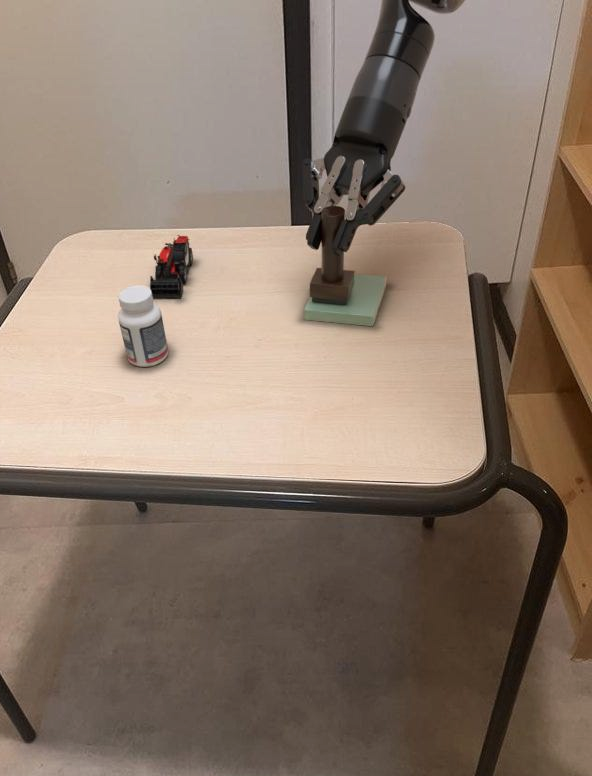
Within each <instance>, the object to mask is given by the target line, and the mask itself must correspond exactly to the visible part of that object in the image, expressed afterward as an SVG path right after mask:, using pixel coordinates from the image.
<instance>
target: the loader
mask: <svg viewBox="0 0 592 776" xmlns="http://www.w3.org/2000/svg"><path fill="white" fill-rule="evenodd" d="M176 236H177V238H176V239H175V237H173V241H172V243H171V242H165V244H164V245H165V246H164V247H163V248H162V249H161V250H160V252H159V254H158V255H157V254H154V255H153V260H154V261H155V263H156V265H155V270H154V271H155V272H154V277H153V275H150V277H149V281H150V282H149V288H150V290H151V292H152V296H153V298H182V295H183V292H184V284H183V283H186V282H187V280H188V269H189V266H190V265H191V266H192V265H193V262H194V254H193V253H194V251H193V248H192V247H190V242H189V241H190V238H189V236H187V235H180V234H177V235H176ZM172 277H177V279H175V278H172ZM154 278H155V279H154Z"/></svg>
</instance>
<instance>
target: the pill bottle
mask: <svg viewBox="0 0 592 776" xmlns="http://www.w3.org/2000/svg"><path fill="white" fill-rule="evenodd" d="M118 302H119V307H120V308H121V309H120V310H119V311H118V315H117V319H118V324H119V329H120V333H121V337H122V342H123V346H124V351H125V354H126V357H127V360H128V362H129V363H130V364H132V365H134V366H136V367H142V368H143V367H144V368H145V367H146V368H147V367H153V366H156V365H159V364H160V363H162V362H163V361H165V359H166V358H167V357H168V354H169V346H168V341H167V336H166V331H165V325H164V319H163V315H162V310H161V308H160V307H159V305H158V304H157V303H155V302H154V297H153V296H152V292H151V290H150V287H148V286H146V285H132V286H127V287H125V288H123V289H122V290H121V291H120V292H119V294H118Z"/></svg>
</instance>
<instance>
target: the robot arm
mask: <svg viewBox="0 0 592 776" xmlns="http://www.w3.org/2000/svg"><path fill="white" fill-rule="evenodd" d="M465 1H466V0H381V4H380V9H379V15H378V20H377V24H376V27H375V30H374V34H373V36H372V39H371V42H370V44H369V48H368V50H367V53H366V55H365V58H364V61H363V63H362V66H361V67H360V70H359V71H358V73H357V75H356V77H355V79H354V82H353V83H352V86H351V89H350V93H349V95H348V98H347V100H346V103H345V106H344V109H343V110H342V114H341V117H340V119H339V122H338V125H337V127H336V129H335V132H334V136H333V142H332V144H331V147H330V148H329V149H328V150H327V151H326V153H325V154H324V156H323V157H322V158H318V159H315V160H312V159H311V158H310V157H306V158H304V159H303V160H302V163H301V169H302V170H301V172H302V177H301V178H302V200H303V201H302V203H303V205H305V206H306V207H307V209H308V210H309V211H310V212H311V213H312V218H311V220H310V223H309V225H308V228H307V231H306V234H305V240H306V241H307V242H306V244H307V246H308V247H309V248H310V249H312V250H316V251H317V250H319V249H320V246H321V212H322V210H323V209H324V208H326V207H329V206H339V204H340V203H341V201H342V199H343V198H344V196H347V199H348V201H347V206H346V210H345V220H342V222H341V224H340V227H339V229H338V232H337V235H336V237H335V240H334V243H333V245H332V252H333V253H334V254H336V255H339V256H342V255H343V253H344V254H345V253H347V252H348V251H349V250H350V248H351V245H352V243H353V241H354V237H355V235H356V232H357V230H358V229H359V227H360V226H364V225H368V226H370V227H371V226H374V225H375V224H376V223H377V222H378V221H379V220H380V219H381V218H382V216H384V214H385V213H386V212H387V211H388V210H389V209H390V208H391V207H392V205H394V204H395V202H396V201H397V200H398V198H399V197H400V196H401V195H402V194H403V193H404V192H405V190H406V184H405V183H404V181H403V179H402V178H401V176H400V175H399V174H395V173H393V172H392V169H391V168H392V167H391V162H392V158H393V157H394V156H395V153H396V150H397V148H398V144H399V142H400V141H401V137H402V135H403V132H404V129H405V127H406V124H407V121H408V119H409V118H410V116H411V114H412V108H413V106H414V103H415V100H416V96H417V92H418V88H419V85H420V81H421V80H422V79H421V78H422V76H423V73H424V72H425V69H426V66H427V63H428V61H429V58H430V56H431V53H432V50H433V48H434V44H435V37H436V35H435V31H434V28H433V26H432V25H431V23H430V22H429V21H428V20H426V19H427V18H425V17H424V16H422V15H421V14H420V13H419V12H417V10H415V8H413V7H412V5H411V4H410V3H412V4H414V5H416V6H418V7H421V8H424V9H425V10H427V11H429V12H433V13H435V14H439V15H449V14H453V13H455V12H456V11H457V10H458V9H459V8H461V6H462V5H463V4H464V3H465ZM324 171H325V172H326V179H325V181H324V183H323V185H322V187H321V189H320V180H321V179H322V177H323V174H324ZM378 186H380V189H379V190H378V191H377V192H376V194H375V195H374V196H373V197H372V198H371V199H370V200H369V198H370V195H371V192H372V191H373V190H374V189H376V188H377V187H378Z"/></svg>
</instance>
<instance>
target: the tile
mask: <svg viewBox="0 0 592 776" xmlns="http://www.w3.org/2000/svg"><path fill="white" fill-rule="evenodd" d="M387 278H388V277H387V276H386V275H373V274H365V273H364V274H363V273H354V286H353V289H352V292H351V294H350V297H349V300H348V303H347V305H342V304H332V303H321V302H312V297H310V296H309V298H308V300H307V302H306V305H305V307H304V309H303V319H304V320H306V321H316V322H328V323H334V324H335V323H336V324H344V325H346V324H347V325H357V326H366V327H374V325H375V321H376V318H377V315H378V312H379V309H380V306H381V303H382V300H383V297H384V293H385V290H386V288H387Z"/></svg>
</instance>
